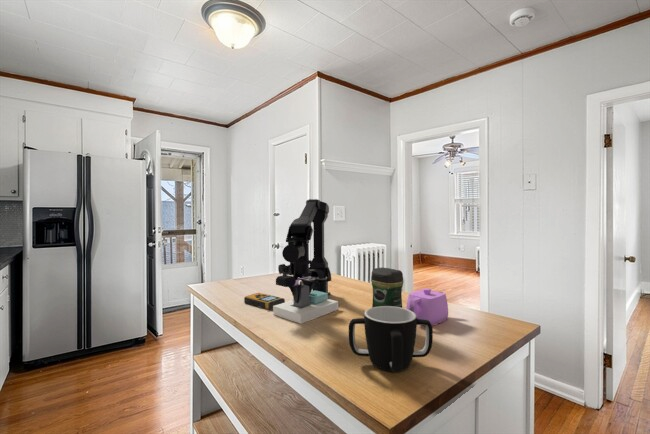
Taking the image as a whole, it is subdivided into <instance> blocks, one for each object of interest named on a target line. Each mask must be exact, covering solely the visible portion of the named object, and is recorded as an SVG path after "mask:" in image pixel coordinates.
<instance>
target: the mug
mask: <svg viewBox="0 0 650 434" xmlns="http://www.w3.org/2000/svg"><path fill="white" fill-rule="evenodd" d="M363 314H364V315H363V317H359V318H352V319H351V320H350V321H349V323H348V343H349V346H350V349H351V351H352V353H353V354H355V355H356V356H359V357H369V360H370V361H371V364H372V365H373V366H374V367H376V368H378V369H379V370H382V371H386V372H394V373H400V372H402V371H403V370H406V369H408V368H409V367H410V365H411V362H412V359H413V358H424V357H427V356H428V355H429V354H430V353H431V349H432V347H433V337H434V336H433V333H434V331H433V326H432V325H431V323H430V322H429V321H428V320H423V319H417V316H416V314H415V313H414V312H412V311H410V310H408V309H406V307H402V308H401V307H394V306H379V307H373V308H372V307H370V308H368V309H365V311H364V313H363ZM356 325H364V335H365V341H366V348H367V349H366V348H365V349H364V348H358V346H357V344H356V335H355V334H356V333H355V329H356ZM417 326H425V342H424V346H423V348H422V349H420V350H415V345H416V337H417Z"/></svg>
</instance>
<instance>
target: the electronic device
mask: <svg viewBox="0 0 650 434" xmlns="http://www.w3.org/2000/svg"><path fill="white" fill-rule="evenodd" d="M243 300H244V301H243V302H244V304H248V305H251V306H254V307H258V308H261V309H267V310H270V311H271V310H273V306H275V305H278V304H282V303H285V302H286V299H285V298H282V297H279V296H275V295H271V294H267V293H261V292H256V293H252V294H248V295H245V296H244V298H243Z"/></svg>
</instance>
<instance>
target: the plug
mask: <svg viewBox="0 0 650 434" xmlns="http://www.w3.org/2000/svg"><path fill="white" fill-rule="evenodd" d="M299 284H300V285H301V291H300V297H299V302H298V303H295V300H294V297H293V296H292V297H293V303H294V306H295V307H298V308H304V307H307V306H310V302H309V286H307V285H303V281H301V280H299Z"/></svg>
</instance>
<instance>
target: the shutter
mask: <svg viewBox="0 0 650 434" xmlns="http://www.w3.org/2000/svg"><path fill="white" fill-rule="evenodd" d="M328 299H329V295H328V293H324V292H320V291H315V290H314V291H311V293H310V295H309V302H310V303H314V304H317V303H320V302H323V301H326V300H328Z"/></svg>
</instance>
